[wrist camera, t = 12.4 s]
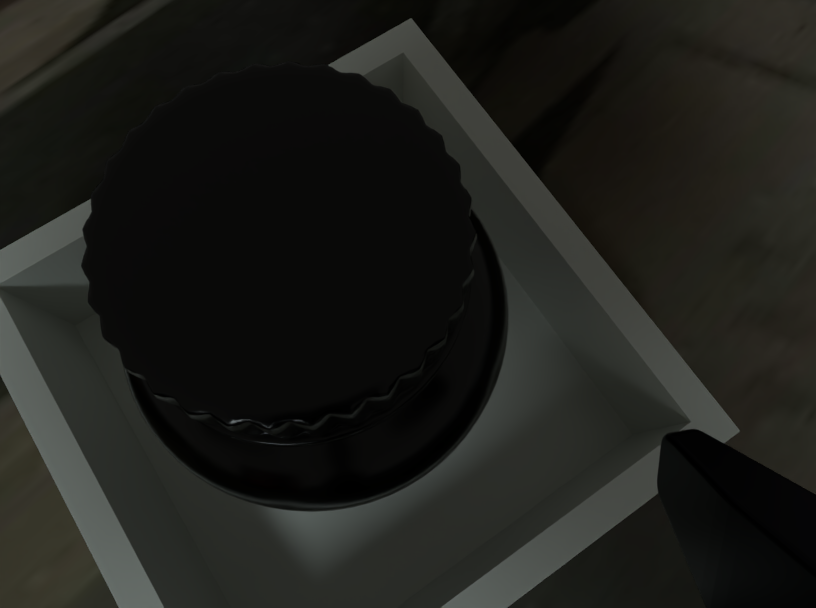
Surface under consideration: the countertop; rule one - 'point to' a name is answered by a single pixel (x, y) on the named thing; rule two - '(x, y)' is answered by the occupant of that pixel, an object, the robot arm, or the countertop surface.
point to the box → (427, 497)
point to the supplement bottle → (296, 286)
